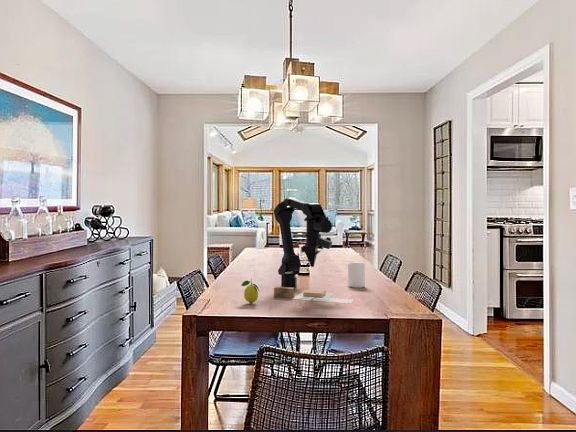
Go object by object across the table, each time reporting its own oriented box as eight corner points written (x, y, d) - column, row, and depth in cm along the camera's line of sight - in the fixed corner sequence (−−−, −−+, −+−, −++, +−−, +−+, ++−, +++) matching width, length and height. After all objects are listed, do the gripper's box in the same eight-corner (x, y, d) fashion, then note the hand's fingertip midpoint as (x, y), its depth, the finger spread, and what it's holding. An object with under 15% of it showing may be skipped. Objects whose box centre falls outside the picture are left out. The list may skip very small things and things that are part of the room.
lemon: (240, 302, 208) (241, 277, 208) (254, 301, 210) (254, 277, 210) (246, 305, 202) (246, 280, 201) (260, 304, 204) (260, 279, 204)
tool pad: (312, 301, 212) (312, 300, 212) (316, 298, 220) (316, 297, 220) (350, 304, 207) (350, 303, 207) (354, 300, 215) (354, 299, 215)
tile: (308, 292, 229) (303, 296, 222) (308, 289, 229) (303, 292, 221) (325, 294, 227) (321, 297, 219) (325, 290, 227) (321, 293, 219)
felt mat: (296, 296, 222) (296, 295, 222) (303, 292, 233) (303, 291, 233) (328, 299, 218) (328, 298, 218) (334, 294, 229) (334, 293, 229)
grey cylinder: (364, 288, 245) (364, 263, 245) (347, 287, 247) (347, 262, 246) (365, 285, 253) (365, 261, 253) (348, 285, 255) (348, 260, 254)
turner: (272, 299, 216) (272, 288, 216) (277, 296, 223) (277, 285, 223) (309, 301, 212) (309, 290, 212) (313, 298, 218) (313, 288, 218)
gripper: (326, 233, 217) (326, 270, 217) (334, 231, 235) (334, 265, 235) (301, 232, 220) (300, 269, 220) (310, 230, 238) (310, 264, 238)
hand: (312, 266), depth 229 cm, fingers closed
